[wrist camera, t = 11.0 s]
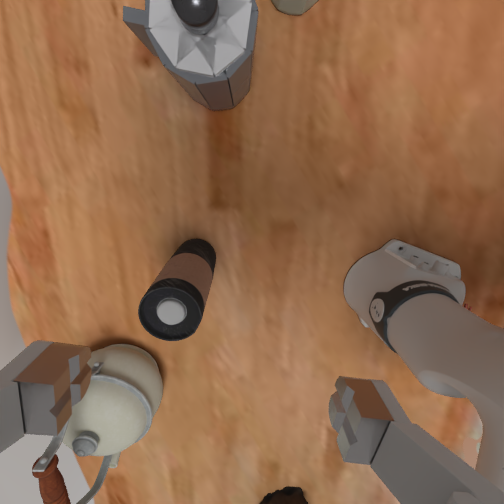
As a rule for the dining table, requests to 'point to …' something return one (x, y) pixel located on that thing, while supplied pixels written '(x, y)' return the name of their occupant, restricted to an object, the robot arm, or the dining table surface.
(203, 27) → the plunger
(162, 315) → the travel mug
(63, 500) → the kettle
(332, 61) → the dining table surface
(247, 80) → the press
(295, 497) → the owl
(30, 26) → the dining table surface
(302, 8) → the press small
